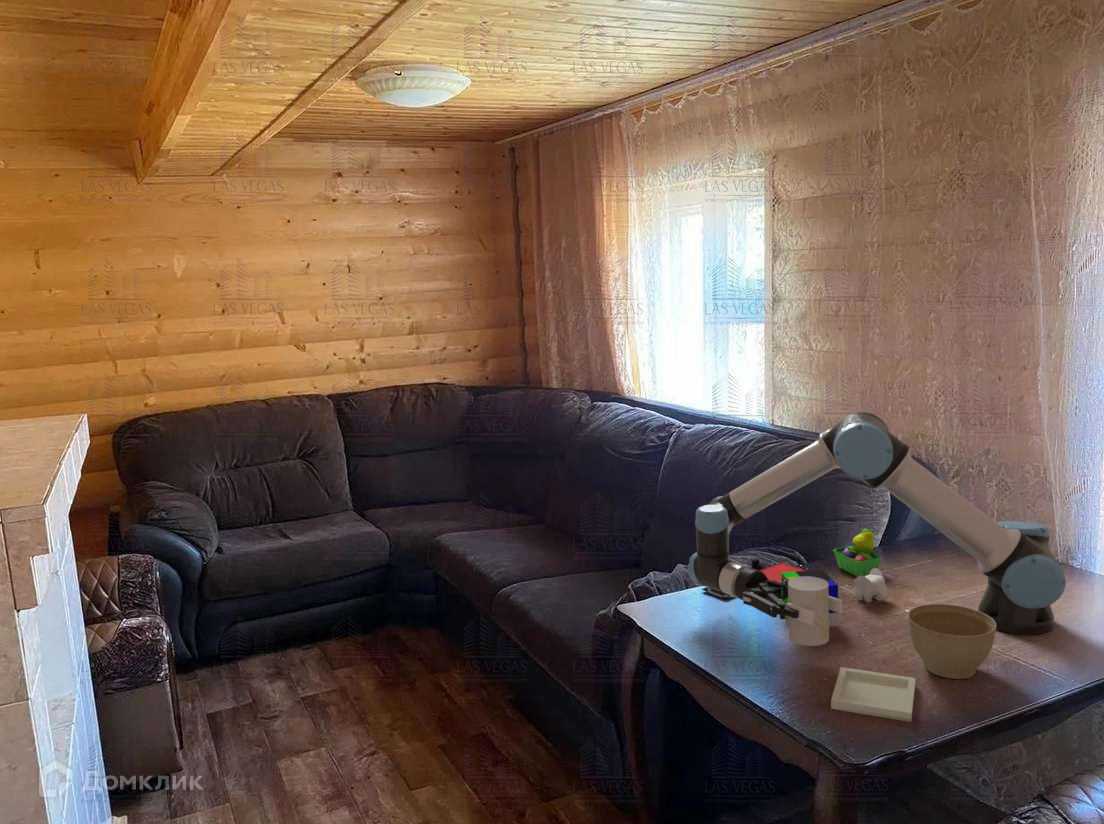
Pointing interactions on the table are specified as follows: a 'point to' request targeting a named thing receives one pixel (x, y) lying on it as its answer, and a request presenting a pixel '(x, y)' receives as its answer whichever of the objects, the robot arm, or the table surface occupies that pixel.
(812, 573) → the puzzle toy
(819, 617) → the white cylinder
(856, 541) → the fruit basket
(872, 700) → the tray
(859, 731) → the table surface
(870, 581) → the elephant figurine
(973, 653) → the planter bowl
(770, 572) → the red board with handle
